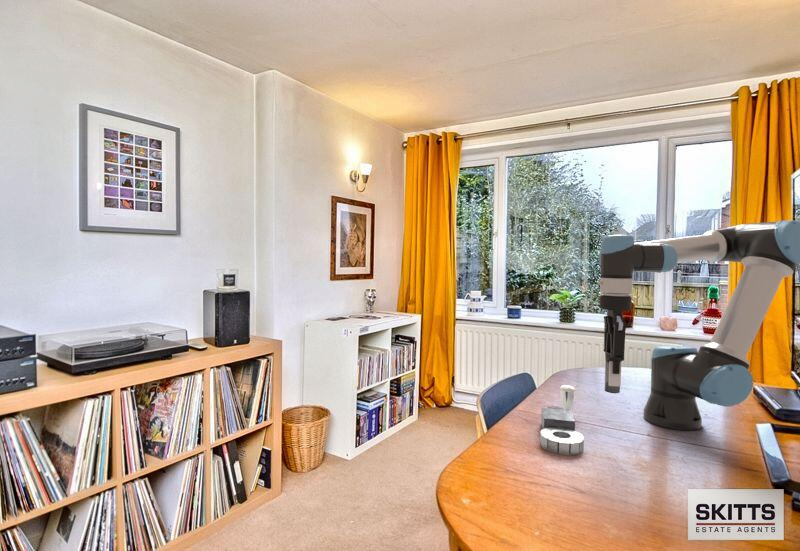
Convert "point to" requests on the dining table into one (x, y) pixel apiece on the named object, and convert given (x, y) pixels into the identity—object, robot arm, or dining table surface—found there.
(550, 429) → the grey block with disc
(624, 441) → the dining table surface
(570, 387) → the milkshake
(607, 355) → the black capped grinder
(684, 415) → the robot arm
